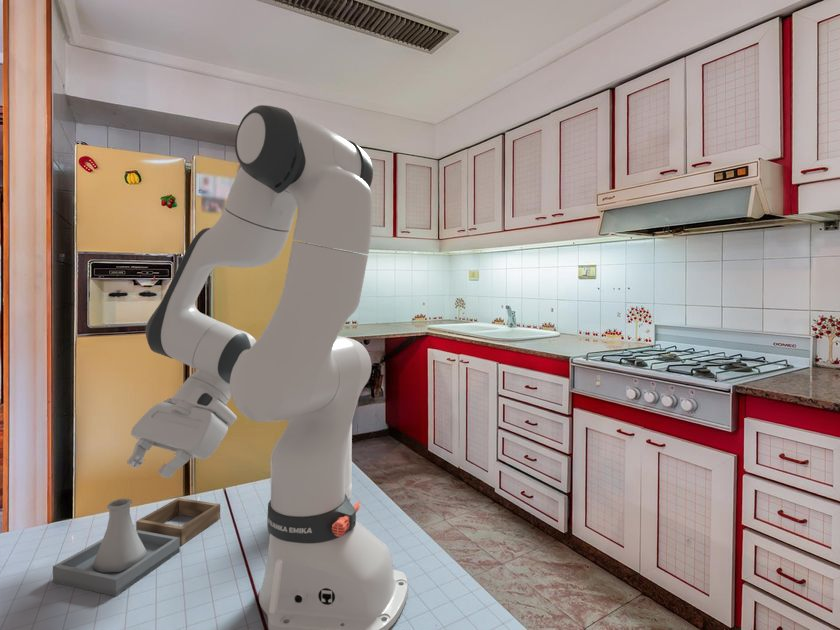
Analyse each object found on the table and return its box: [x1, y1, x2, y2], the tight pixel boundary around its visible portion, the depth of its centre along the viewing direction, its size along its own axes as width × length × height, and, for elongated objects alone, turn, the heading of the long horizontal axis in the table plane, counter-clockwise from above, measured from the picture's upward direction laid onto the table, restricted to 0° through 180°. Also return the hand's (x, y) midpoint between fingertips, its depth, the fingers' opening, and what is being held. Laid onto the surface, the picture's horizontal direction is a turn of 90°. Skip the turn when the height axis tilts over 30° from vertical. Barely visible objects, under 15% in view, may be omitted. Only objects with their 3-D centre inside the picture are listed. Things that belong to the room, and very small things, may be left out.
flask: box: [92, 498, 147, 573], centre depth 75 cm, size 7×7×10 cm
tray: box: [52, 529, 181, 597], centre depth 75 cm, size 12×12×2 cm
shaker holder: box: [135, 497, 221, 546], centre depth 88 cm, size 10×10×3 cm
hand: (146, 470), depth 78 cm, fingers open, 8 cm apart
